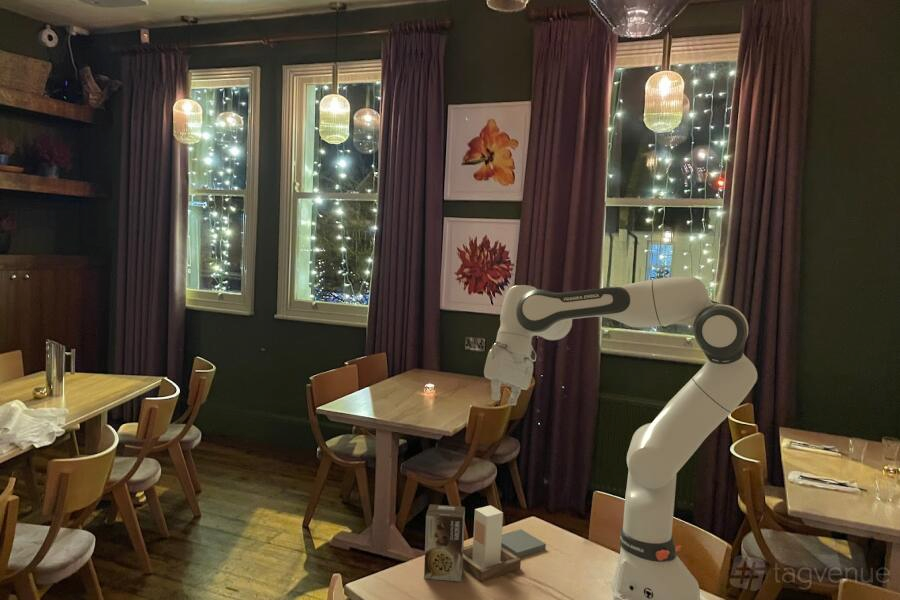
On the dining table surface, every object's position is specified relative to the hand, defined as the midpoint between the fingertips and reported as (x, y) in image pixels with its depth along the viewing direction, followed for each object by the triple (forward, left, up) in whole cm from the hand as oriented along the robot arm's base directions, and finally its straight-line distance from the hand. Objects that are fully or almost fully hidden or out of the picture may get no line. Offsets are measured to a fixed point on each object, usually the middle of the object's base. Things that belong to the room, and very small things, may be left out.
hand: (503, 402), depth 163 cm
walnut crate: (0, +3, -41) cm, 41 cm away
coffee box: (+1, +15, -41) cm, 44 cm away
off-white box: (0, +3, -41) cm, 41 cm away
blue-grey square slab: (+3, -11, -41) cm, 43 cm away
